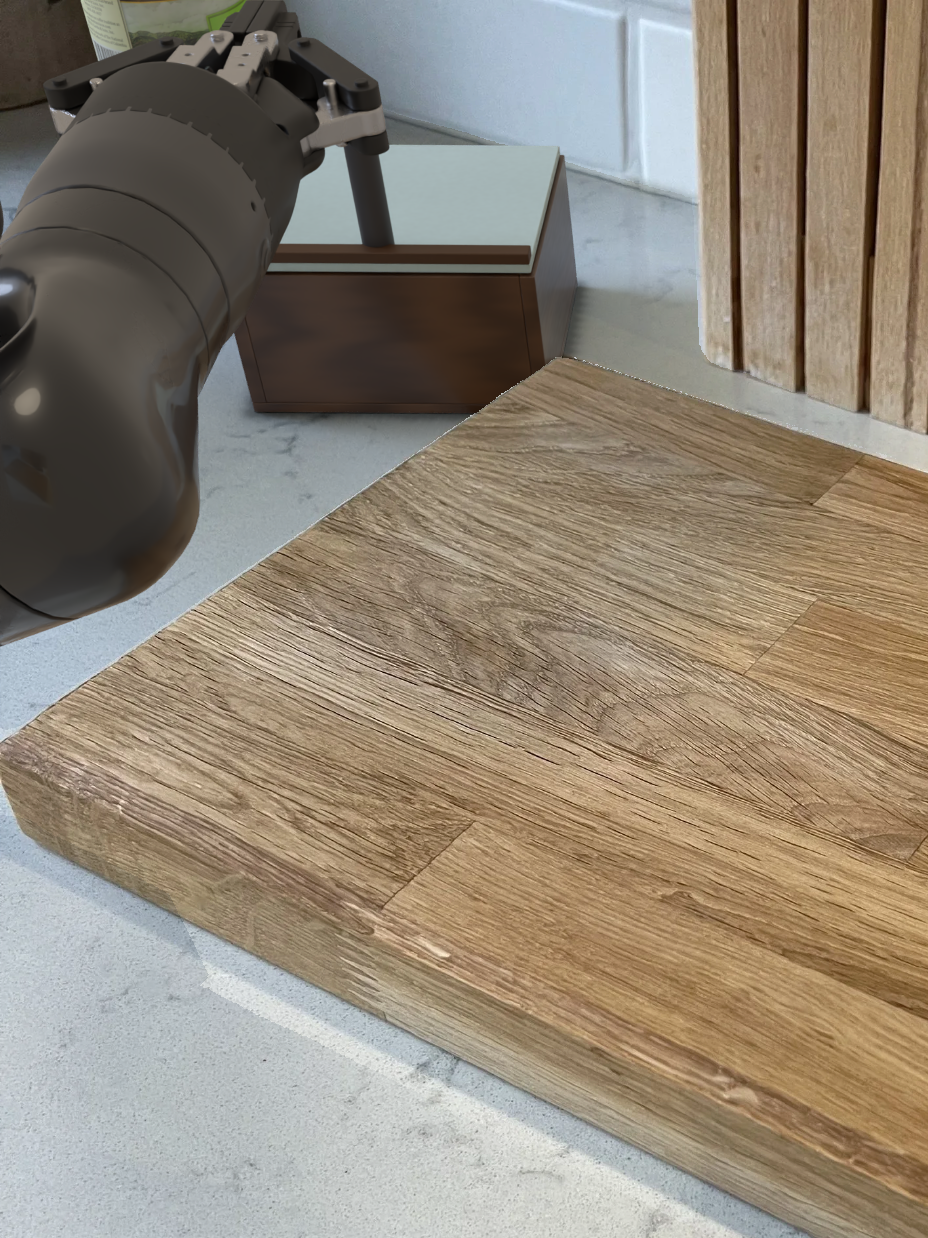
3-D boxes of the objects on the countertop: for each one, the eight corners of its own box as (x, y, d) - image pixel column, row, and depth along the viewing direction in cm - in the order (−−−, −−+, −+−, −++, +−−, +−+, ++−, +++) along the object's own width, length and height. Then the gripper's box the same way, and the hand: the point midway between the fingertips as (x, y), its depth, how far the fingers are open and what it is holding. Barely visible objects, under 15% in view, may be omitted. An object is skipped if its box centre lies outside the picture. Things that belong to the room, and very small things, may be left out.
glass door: (222, 272, 88) (179, 105, 82) (282, 152, 98) (247, -6, 92) (530, 274, 88) (510, 107, 82) (560, 154, 98) (544, -4, 92)
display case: (254, 412, 94) (218, 275, 88) (309, 283, 104) (279, 152, 98) (551, 414, 94) (534, 277, 88) (577, 285, 104) (564, 154, 98)
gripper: (329, 115, 56) (419, -74, 68) (-80, 113, 56) (82, -75, 69) (371, 325, 62) (447, 115, 74) (-3, 323, 62) (135, 114, 74)
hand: (271, 24), depth 71 cm, fingers closed
